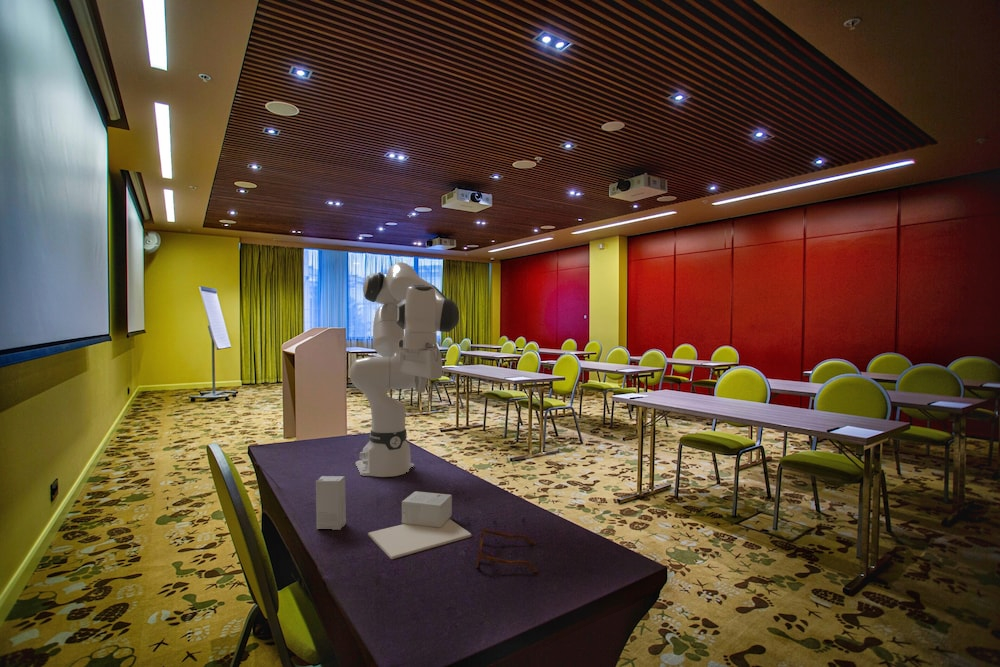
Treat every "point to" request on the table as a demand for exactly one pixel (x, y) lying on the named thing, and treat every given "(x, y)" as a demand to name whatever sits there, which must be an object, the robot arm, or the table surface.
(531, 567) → the glasses
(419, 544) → the felt mat
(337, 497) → the skincare box
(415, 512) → the small box
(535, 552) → the table surface
